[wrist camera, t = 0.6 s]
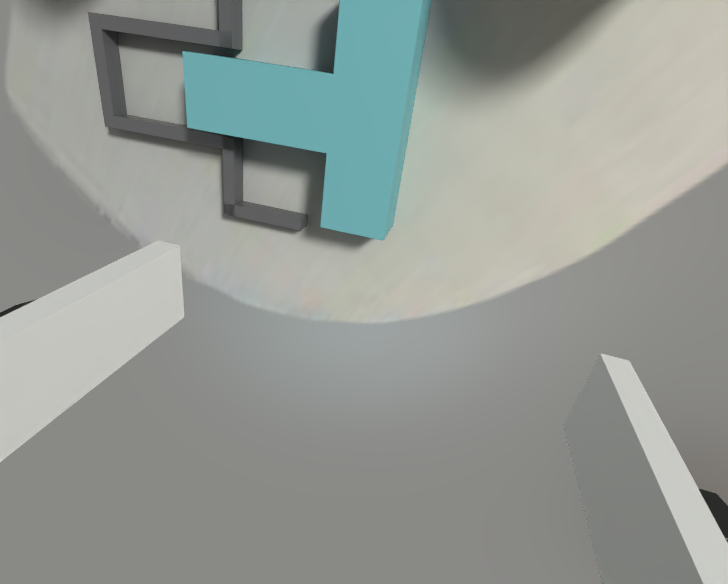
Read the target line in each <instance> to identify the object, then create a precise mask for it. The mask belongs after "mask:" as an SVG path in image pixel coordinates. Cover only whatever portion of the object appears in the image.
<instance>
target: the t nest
mask: <svg viewBox="0 0 728 584" xmlns="http://www.w3.org/2000/svg"><path fill="white" fill-rule="evenodd" d="M218 6H219V31H218V30H211V29H204V28H197V27H190V26H183V25H176V24H169V23H161V22H154V21H147V20H140V19H133V18H126V17H119V16H112V15H105V14H98V13H91V12H88V15H89V22H90V29H91V35H92V42H93V49H94V55H95V62H96V69H97V75H98V82H99V89H100V95H101V102H102V109H103V115H104V122H105V127H110V128H116V129H121V130H126V131H131V132H137V133H142V134H147V135H152V136H158V137H163V138H168V139H173V140H179V141H184V142H189V143H194V144H200V145H205V146H210V147H215V148H221V149H222V155H223V192H224V214H226V215H230V216H235V217H240V218H244V219H249V220H253V221H258V222H263V223H267V224H272V225H276V226H281V227H286V228H290V229H295V230H299V231H301V230H302V229H303V228H304V227H306V226H307V214H302V213H297V212H293V211H288V210H283V209H278V208H274V207H269V206H264V205H259V204H255V203H250V202H245V201H243V138H241V137H235V136H230V135H224V134H219V133H214V132H208V131H203V130H197V129H192V128H187V126H185V125H180V124H174V123H169V122H163V121H158V120H152V119H147V118H141V117H136V116H131V115H127V112H126V104H125V96H124V88H123V80H122V72H121V64H120V56H119V48H118V40H117V32H123V33H130V34H137V35H143V36H150V37H157V38H163V39H170V40H177V41H184V42H190V43H197V44H204V45H211V46H217V47H224V48H231V49H237V50H242V0H218Z"/></svg>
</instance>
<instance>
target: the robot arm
mask: <svg viewBox="0 0 728 584" xmlns="http://www.w3.org/2000/svg"><path fill="white" fill-rule="evenodd" d="M183 317H184V304H183V290H182V275H181V260H180V246H179V245H175V244H171V243H167V242H163V241H159V240H158V241H156V242H154V243H152V244H150V245H148V246H146V247H144V248H142V249H140V250H138V251H136V252H134V253H132V254H130V255H128V256H125V257H123V258H122V259H119V260H117V261H115V262H113V263H111V264H109V265H107V266H105V267H103V268H101V269H99V270H97V271H95V272H93V273H91V274H88V275H86V276H84V277H82V278H80V279H78V280H76V281H74V282H72V283H70V284H68V285H66V286H64V287H62V288H60V289H58V290H56V291H54V292H51V293H50V294H47V295H45V296H43V297H41V298H39V299H36V300H33V301H29V302H26V303H22V304H19V305H15V306H13V307H11V308H9V309H7V310H5V311H3V312H1V313H0V462H1V461H2V460H3V459H5V458H6V457H7V456H8V455H10V454H11V453H12V452H13V451H15V450H16V449H17V448H18V447H20V446H21V445H22V444H24V443H25V442H26V441H27V440H28V439H30V438H31V437H32V436H34V435H35V434H36V433H37V432H39V431H40V430H41V429H43V428H44V427H45V426H46V425H48V424H49V423H50V422H51V421H53V420H54V419H55V418H56V417H58V416H59V415H60V414H62V413H63V412H64V411H65V410H67V409H68V408H69V407H70V406H72V405H73V404H74V403H76V402H77V401H78V400H79V399H81V398H82V397H83V396H84V395H86V394H87V393H88V392H90V391H91V390H92V389H93V388H95V387H96V386H97V385H98V384H100V383H101V382H102V381H103V380H105V379H106V378H107V377H109V376H110V375H111V374H112V373H114V372H115V371H116V370H118V369H119V368H120V367H121V366H123V365H124V364H125V363H126V362H128V361H129V360H130V359H132V358H133V357H134V356H135V355H137V354H138V353H139V352H140V351H142V350H143V349H144V348H145V347H147V346H148V345H149V344H151V343H152V342H153V341H154V340H156V339H157V338H158V337H159V336H161V335H162V334H163V333H164V332H166V331H167V330H168V329H170V328H171V327H172V326H173V325H175V324H176V323H177V322H178V321H180V320H181V319H182V318H183ZM563 426H564V430H565V434H566V439H567V443H568V446H569V451H570V455H571V459H572V463H573V467H574V471H575V475H576V480H577V484H578V488H579V492H580V496H581V500H582V504H583V508H584V512H585V516H586V520H587V525H588V529H589V533H590V536H591V541H592V545H593V549H594V553H595V557H596V561H597V565H598V570H599V574H600V578H601V582H602V584H728V506H727V505H726V503H724V501H723V500H722V499H721V498H720V497H719V496H718V495H717V494H716V493H712V492H709V491H705V490H702V489H698V487H697V486H696V484H695V482H694V480H693V478H692V476H691V475H690V473H689V471H688V469H687V467H686V465H685V463H684V462H683V460H682V458H681V456H680V454H679V452H678V450H677V448H676V447H675V445H674V443H673V441H672V439H671V438H670V436H669V434H668V432H667V430H666V428H665V426H664V424H663V423H662V421H661V419H660V417H659V415H658V413H657V411H656V410H655V408H654V406H653V404H652V402H651V400H650V398H649V397H648V395H647V393H646V391H645V389H644V387H643V385H642V384H641V382H640V380H639V378H638V376H637V374H636V373H635V371H634V369H633V367H632V365H631V363H630V361H628V360H624V359H620V358H616V357H612V356H608V355H605V354H600V355H599V357H598V359H597V361H596V362H595V364H594V366H593V368H592V370H591V372H590V374H589V376H588V378H587V379H586V381H585V383H584V385H583V387H582V389H581V391H580V393H579V395H578V397H577V399H576V400H575V402H574V404H573V406H572V408H571V410H570V412H569V413H568V415H567V417H566V419H565V421H564V423H563Z"/></svg>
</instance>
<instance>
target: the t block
mask: <svg viewBox="0 0 728 584" xmlns="http://www.w3.org/2000/svg"><path fill="white" fill-rule="evenodd" d="M431 1H432V0H340V4H339V15H338V27H337V39H336V50H335V62H334V73H330V72H323V71H316V70H310V69H303V68H297V67H290V66H284V65H277V64H271V63H264V62H257V61H251V60H244V59H238V58H231V57H225V56H218V55H211V54H203V53H195V52H186V51H182V54H183V70H184V85H185V100H186V116H187V128H192V129H197V130H203V131H208V132H214V133H219V134H224V135H230V136H235V137H241V138H246V139H252V140H257V141H262V142H268V143H273V144H279V145H284V146H290V147H295V148H300V149H306V150H311V151H317V152H322V153H327V155H326V167H325V178H324V190H323V202H322V213H321V225H320V227H322V228H327V229H331V230H336V231H341V232H345V233H350V234H355V235H359V236H364V237H369V238H373V239H378V240H384V239H385V237H386V236H387V234H388V232H389V231H390V229H391V228H392V226H393V222H394V216H395V210H396V204H397V199H398V193H399V187H400V181H401V175H402V170H403V164H404V158H405V152H406V146H407V141H408V135H409V129H410V123H411V117H412V112H413V106H414V100H415V94H416V88H417V83H418V77H419V71H420V65H421V59H422V54H423V48H424V42H425V36H426V30H427V25H428V19H429V13H430V7H431Z"/></svg>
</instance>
